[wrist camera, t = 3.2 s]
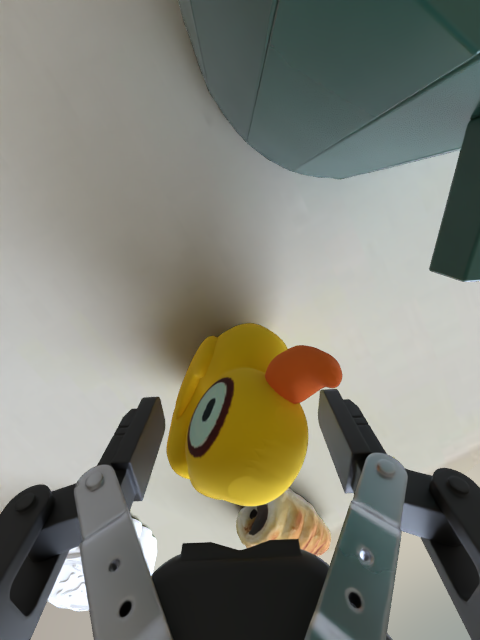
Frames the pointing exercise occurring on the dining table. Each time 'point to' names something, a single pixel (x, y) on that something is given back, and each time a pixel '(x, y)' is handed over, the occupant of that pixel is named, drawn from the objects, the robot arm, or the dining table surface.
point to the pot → (354, 92)
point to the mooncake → (71, 577)
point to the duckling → (246, 414)
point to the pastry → (284, 523)
